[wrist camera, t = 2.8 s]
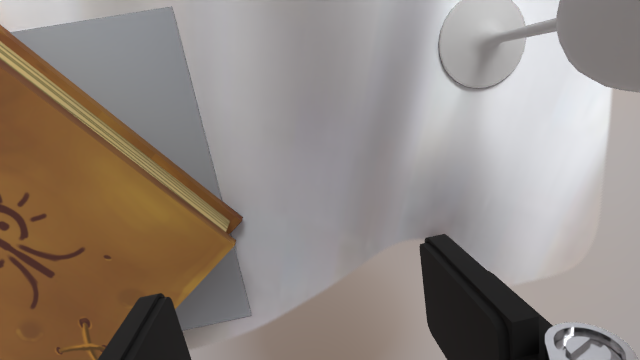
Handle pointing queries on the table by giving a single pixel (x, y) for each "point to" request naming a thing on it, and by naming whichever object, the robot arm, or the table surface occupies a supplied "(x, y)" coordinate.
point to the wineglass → (510, 34)
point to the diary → (88, 217)
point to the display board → (148, 117)
